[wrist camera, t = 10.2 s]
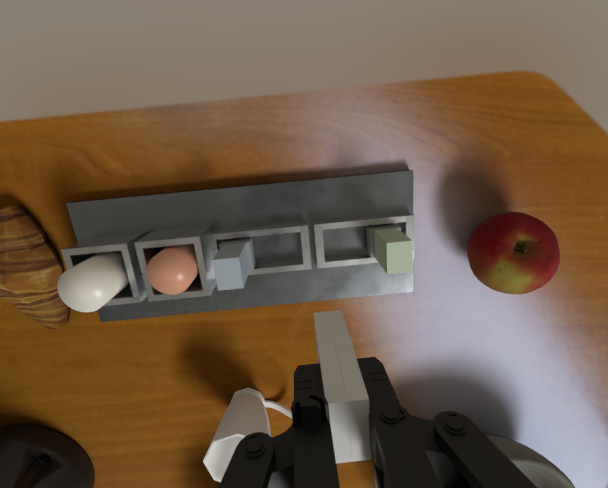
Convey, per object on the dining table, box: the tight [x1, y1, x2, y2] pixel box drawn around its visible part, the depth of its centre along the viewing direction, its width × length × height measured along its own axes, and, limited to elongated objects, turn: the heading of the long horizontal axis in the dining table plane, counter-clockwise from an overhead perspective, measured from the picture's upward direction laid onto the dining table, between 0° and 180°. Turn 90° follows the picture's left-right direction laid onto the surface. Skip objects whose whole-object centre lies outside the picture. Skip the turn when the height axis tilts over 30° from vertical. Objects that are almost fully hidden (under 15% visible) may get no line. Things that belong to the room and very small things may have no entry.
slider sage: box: [366, 224, 413, 274], centre depth 31 cm, size 3×3×6 cm
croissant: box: [0, 205, 70, 329], centre depth 33 cm, size 14×7×5 cm, turn 9°
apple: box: [467, 212, 560, 294], centre depth 32 cm, size 8×8×8 cm
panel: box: [61, 170, 414, 322], centre depth 33 cm, size 34×13×5 cm, turn 95°
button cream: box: [57, 251, 129, 312], centre depth 30 cm, size 4×4×4 cm
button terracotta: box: [146, 244, 199, 295], centre depth 32 cm, size 4×4×4 cm
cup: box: [203, 388, 292, 482], centre depth 37 cm, size 7×10×8 cm
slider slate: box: [213, 237, 256, 291], centre depth 31 cm, size 3×3×6 cm
